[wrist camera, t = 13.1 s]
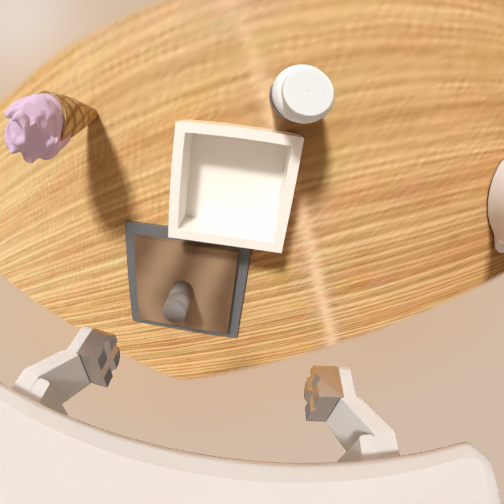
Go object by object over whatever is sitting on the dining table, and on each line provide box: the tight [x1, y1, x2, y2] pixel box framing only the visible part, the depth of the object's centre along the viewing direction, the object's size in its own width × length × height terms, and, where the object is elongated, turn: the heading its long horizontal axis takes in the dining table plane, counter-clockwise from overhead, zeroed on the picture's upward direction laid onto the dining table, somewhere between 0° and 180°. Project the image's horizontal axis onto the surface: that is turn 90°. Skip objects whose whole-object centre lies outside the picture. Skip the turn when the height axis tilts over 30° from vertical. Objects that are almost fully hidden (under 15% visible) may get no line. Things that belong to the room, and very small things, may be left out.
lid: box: [134, 234, 239, 334], centre depth 36 cm, size 13×13×6 cm
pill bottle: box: [269, 65, 334, 124], centre depth 24 cm, size 5×5×10 cm
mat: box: [126, 221, 251, 338], centre depth 39 cm, size 16×16×1 cm
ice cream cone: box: [4, 91, 98, 163], centre depth 23 cm, size 7×6×15 cm
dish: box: [168, 120, 304, 253], centre depth 31 cm, size 12×12×5 cm
